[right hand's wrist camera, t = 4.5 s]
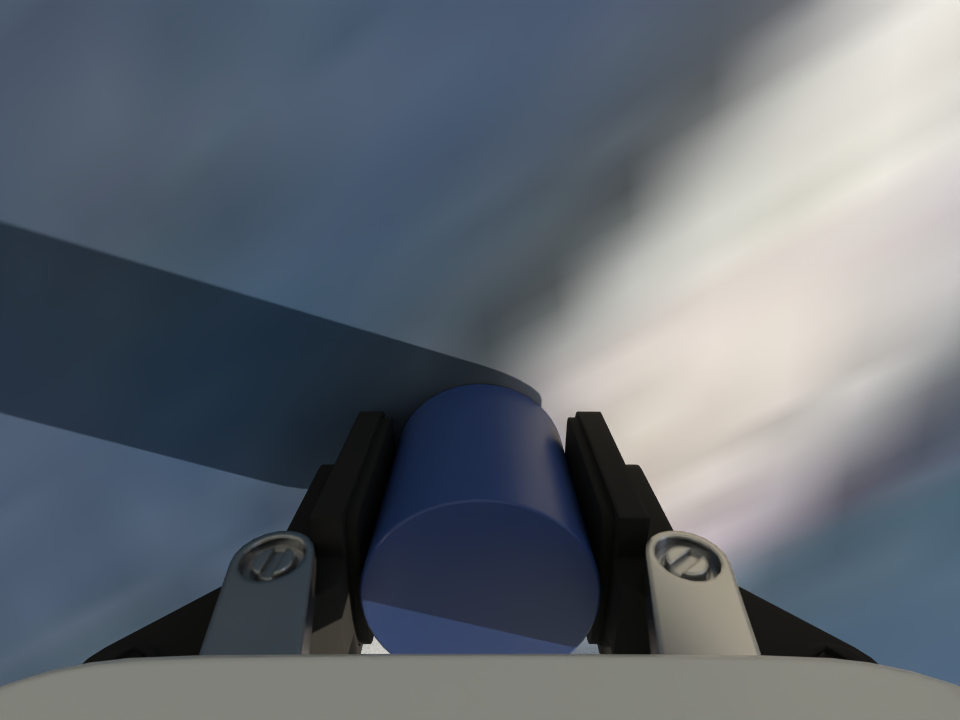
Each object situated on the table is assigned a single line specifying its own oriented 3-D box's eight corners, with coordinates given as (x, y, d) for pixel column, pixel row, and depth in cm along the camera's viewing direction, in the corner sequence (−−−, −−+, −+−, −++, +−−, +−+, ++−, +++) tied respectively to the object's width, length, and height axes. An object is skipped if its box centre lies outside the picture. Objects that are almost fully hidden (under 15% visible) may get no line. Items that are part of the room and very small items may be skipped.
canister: (363, 449, 13) (307, 589, 9) (491, 349, 12) (497, 452, 8) (470, 550, 14) (466, 717, 10) (595, 467, 13) (649, 612, 9)
